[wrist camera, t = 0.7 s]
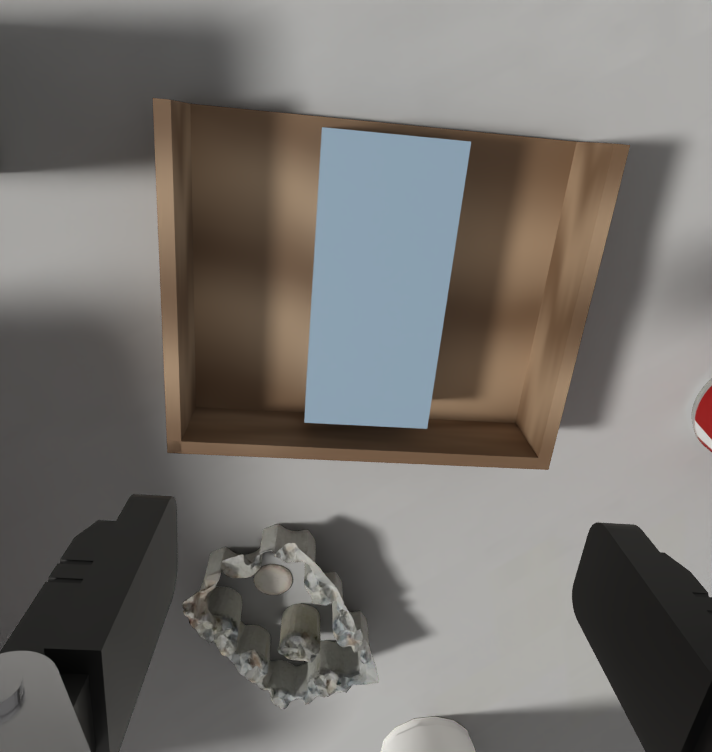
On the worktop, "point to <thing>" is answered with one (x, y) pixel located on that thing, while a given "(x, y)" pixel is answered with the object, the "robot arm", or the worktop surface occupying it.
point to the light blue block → (381, 275)
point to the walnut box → (295, 274)
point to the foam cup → (428, 737)
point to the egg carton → (284, 623)
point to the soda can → (703, 416)
